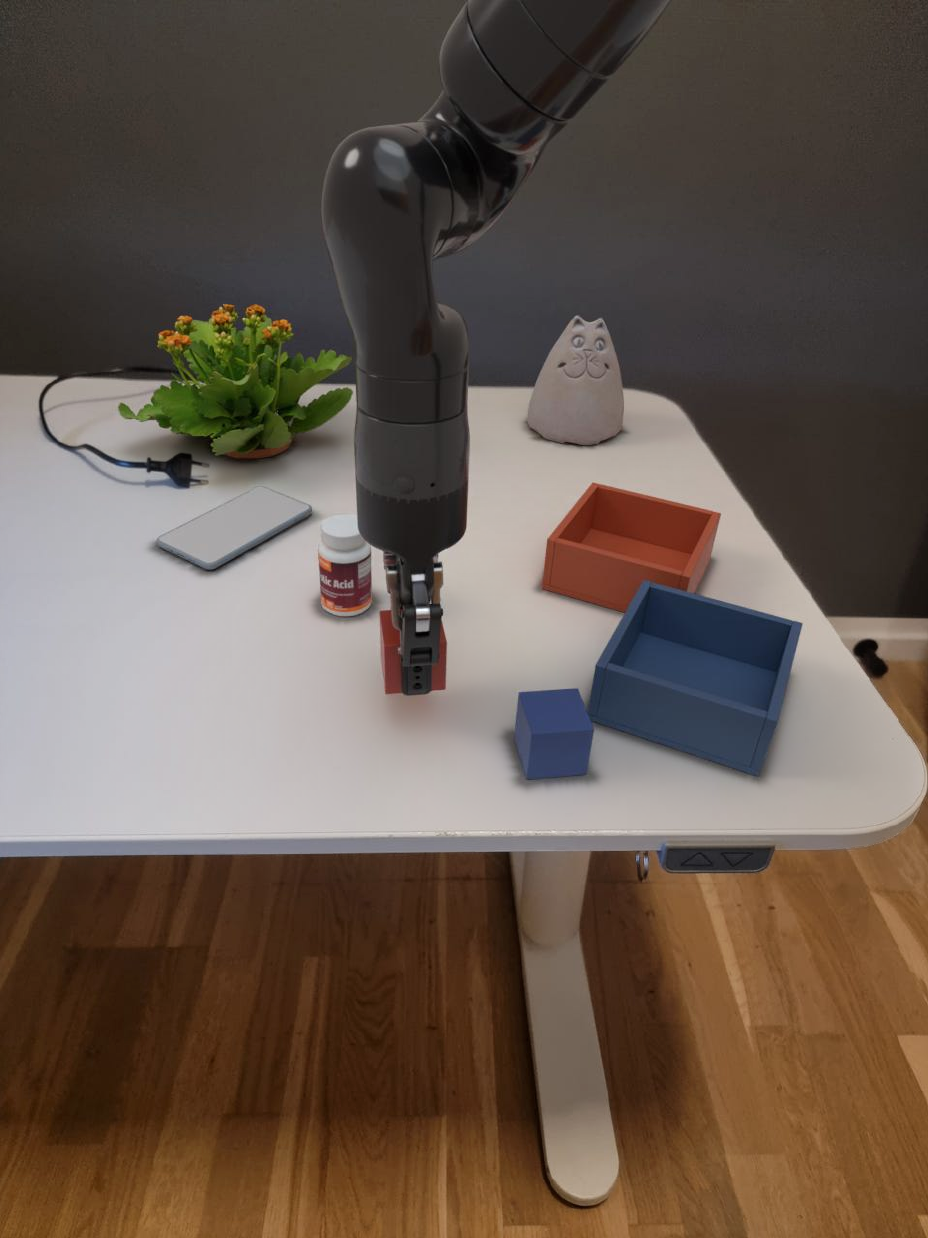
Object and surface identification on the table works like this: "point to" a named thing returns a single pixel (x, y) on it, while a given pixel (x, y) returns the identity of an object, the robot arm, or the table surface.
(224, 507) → the smartphone
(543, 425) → the sculpture
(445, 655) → the red block
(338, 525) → the pill bottle
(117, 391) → the table surface
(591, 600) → the terracotta bin
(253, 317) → the potted flower
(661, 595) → the slate bin
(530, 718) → the blue block
